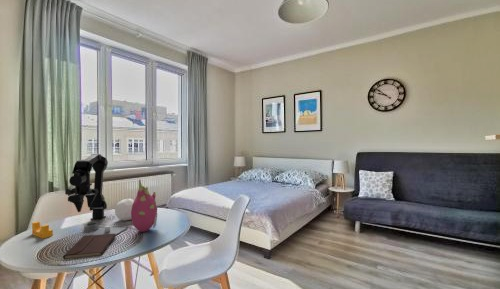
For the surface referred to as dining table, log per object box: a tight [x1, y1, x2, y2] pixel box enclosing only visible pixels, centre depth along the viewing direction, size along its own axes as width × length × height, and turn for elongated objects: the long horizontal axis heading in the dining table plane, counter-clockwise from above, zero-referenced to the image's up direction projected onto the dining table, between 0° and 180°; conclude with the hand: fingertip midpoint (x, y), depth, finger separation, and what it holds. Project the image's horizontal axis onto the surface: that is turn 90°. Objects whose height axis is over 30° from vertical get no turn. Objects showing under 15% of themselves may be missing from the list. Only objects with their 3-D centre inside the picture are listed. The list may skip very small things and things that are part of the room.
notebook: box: [62, 234, 117, 260], centre depth 113 cm, size 15×20×2 cm
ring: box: [83, 221, 99, 233], centre depth 136 cm, size 7×7×3 cm
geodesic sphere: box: [114, 198, 135, 222], centre depth 153 cm, size 15×14×14 cm
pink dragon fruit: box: [130, 179, 158, 233], centre depth 133 cm, size 18×14×30 cm
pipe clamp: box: [31, 221, 54, 239], centre depth 127 cm, size 12×4×6 cm, turn 63°
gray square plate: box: [89, 225, 128, 236], centre depth 130 cm, size 14×14×4 cm
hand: (84, 209), depth 134 cm, fingers open, 9 cm apart
